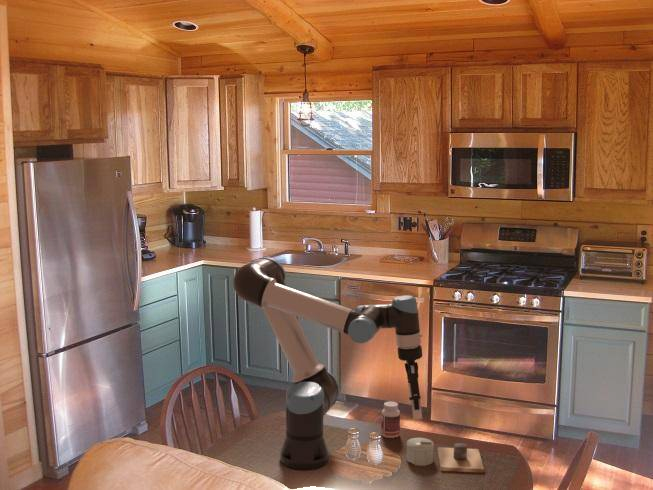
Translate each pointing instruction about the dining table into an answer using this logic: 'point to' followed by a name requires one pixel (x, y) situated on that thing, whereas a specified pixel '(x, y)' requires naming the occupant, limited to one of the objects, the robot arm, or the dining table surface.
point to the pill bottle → (390, 420)
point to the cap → (420, 451)
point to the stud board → (457, 464)
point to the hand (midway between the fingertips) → (416, 411)
